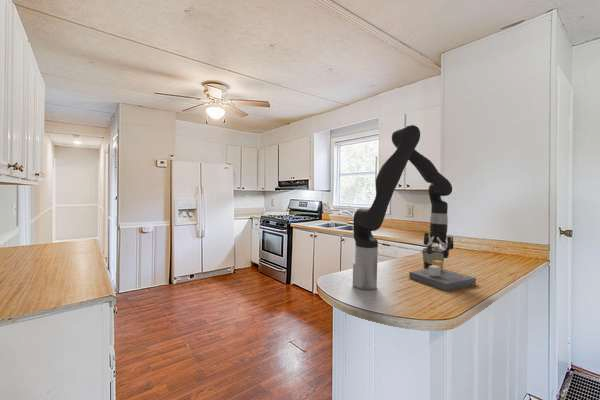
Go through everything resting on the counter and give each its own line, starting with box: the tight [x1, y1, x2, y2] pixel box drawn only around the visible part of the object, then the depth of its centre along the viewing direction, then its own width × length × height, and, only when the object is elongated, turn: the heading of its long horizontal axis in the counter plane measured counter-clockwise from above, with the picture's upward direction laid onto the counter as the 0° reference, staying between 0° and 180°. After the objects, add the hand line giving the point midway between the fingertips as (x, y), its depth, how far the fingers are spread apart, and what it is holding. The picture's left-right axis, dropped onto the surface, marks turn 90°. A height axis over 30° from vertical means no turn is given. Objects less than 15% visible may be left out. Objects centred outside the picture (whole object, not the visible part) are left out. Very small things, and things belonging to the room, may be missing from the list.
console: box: [408, 268, 477, 292], centre depth 127 cm, size 20×19×3 cm
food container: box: [421, 247, 445, 269], centre depth 152 cm, size 12×6×10 cm, turn 84°
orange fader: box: [432, 260, 444, 270], centre depth 134 cm, size 4×3×4 cm
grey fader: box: [428, 265, 441, 277], centre depth 124 cm, size 4×3×4 cm
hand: (437, 255), depth 134 cm, fingers open, 8 cm apart
